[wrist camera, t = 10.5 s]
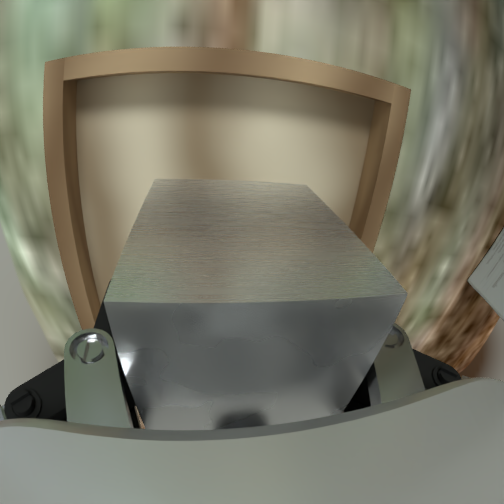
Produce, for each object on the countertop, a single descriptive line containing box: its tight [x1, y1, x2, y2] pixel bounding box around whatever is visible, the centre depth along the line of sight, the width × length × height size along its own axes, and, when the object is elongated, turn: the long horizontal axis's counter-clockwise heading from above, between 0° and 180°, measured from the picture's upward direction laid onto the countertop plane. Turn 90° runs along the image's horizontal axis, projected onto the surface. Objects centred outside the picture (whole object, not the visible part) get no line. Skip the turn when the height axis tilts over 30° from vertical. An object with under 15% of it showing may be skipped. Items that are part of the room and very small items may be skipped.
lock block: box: [104, 179, 408, 430], centre depth 8 cm, size 5×7×7 cm
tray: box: [43, 47, 411, 330], centre depth 16 cm, size 16×16×6 cm
